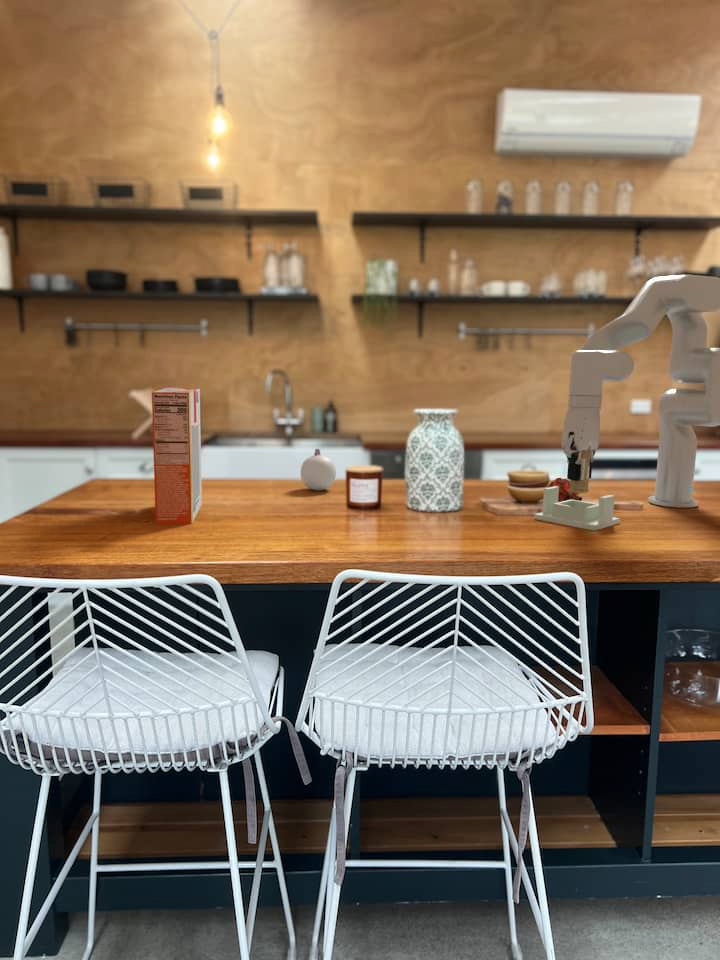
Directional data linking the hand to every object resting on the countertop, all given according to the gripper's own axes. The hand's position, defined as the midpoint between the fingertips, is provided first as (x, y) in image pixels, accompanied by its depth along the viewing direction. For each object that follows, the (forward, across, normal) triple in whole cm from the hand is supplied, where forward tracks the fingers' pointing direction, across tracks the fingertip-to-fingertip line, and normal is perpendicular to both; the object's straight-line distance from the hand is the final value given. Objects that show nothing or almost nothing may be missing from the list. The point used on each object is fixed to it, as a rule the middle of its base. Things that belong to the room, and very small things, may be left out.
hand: (579, 478), depth 175 cm
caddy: (+11, 0, 0) cm, 11 cm away
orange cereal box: (+11, +69, -68) cm, 97 cm away
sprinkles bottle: (+4, 0, 0) cm, 4 cm away
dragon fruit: (+11, -12, -11) cm, 20 cm away
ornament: (+11, +22, -71) cm, 75 cm away
